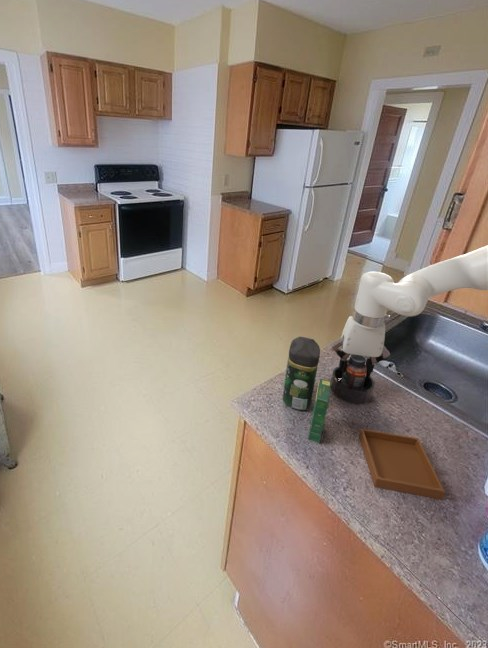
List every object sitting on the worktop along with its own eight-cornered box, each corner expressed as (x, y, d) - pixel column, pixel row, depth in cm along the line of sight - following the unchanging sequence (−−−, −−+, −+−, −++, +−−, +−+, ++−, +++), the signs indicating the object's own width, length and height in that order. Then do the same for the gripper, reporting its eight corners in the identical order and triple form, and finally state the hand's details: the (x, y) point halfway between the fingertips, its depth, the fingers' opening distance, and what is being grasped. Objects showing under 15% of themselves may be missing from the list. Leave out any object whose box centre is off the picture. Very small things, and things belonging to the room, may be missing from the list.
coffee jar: (284, 383, 97) (292, 331, 90) (311, 391, 94) (322, 337, 87) (280, 406, 88) (288, 350, 82) (309, 415, 86) (321, 358, 79)
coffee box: (311, 416, 86) (319, 377, 81) (323, 420, 84) (331, 380, 80) (307, 440, 79) (315, 398, 74) (319, 444, 78) (328, 402, 73)
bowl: (365, 380, 99) (368, 368, 98) (376, 407, 89) (379, 394, 87) (327, 374, 101) (329, 363, 99) (333, 401, 91) (336, 388, 89)
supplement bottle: (365, 392, 94) (374, 360, 90) (352, 399, 91) (361, 367, 87) (348, 379, 99) (355, 349, 95) (335, 386, 96) (342, 355, 92)
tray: (415, 445, 78) (418, 437, 77) (441, 499, 66) (445, 491, 65) (358, 435, 80) (360, 428, 79) (374, 486, 68) (376, 478, 67)
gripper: (397, 314, 88) (382, 367, 95) (332, 307, 91) (321, 359, 97) (408, 328, 81) (391, 385, 88) (337, 320, 84) (325, 375, 91)
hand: (354, 371), depth 93 cm, fingers closed on supplement bottle, 6 cm apart
